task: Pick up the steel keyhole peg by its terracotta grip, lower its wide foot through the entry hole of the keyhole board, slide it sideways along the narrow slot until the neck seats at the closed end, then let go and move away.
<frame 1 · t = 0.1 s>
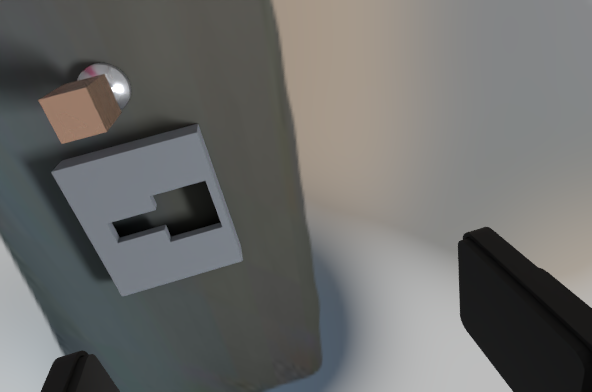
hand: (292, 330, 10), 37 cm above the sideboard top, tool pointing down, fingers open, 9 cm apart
keyhole board: (159, 207, 47), on the sideboard top
keyhole peg: (106, 87, 41), on the sideboard top
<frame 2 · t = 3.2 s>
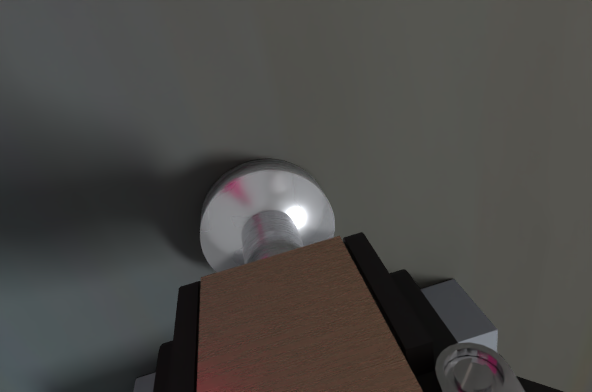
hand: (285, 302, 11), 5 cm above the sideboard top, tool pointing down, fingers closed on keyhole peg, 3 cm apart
keyhole peg: (265, 218, 15), on the sideboard top, touching gripper
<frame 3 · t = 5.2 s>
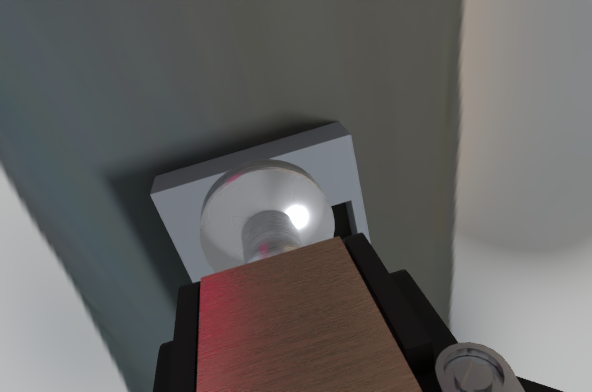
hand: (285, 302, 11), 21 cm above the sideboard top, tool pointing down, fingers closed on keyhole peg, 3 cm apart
keyhole board: (275, 234, 36), on the sideboard top
keyhole peg: (265, 218, 15), point 17 cm above the sideboard top, touching gripper
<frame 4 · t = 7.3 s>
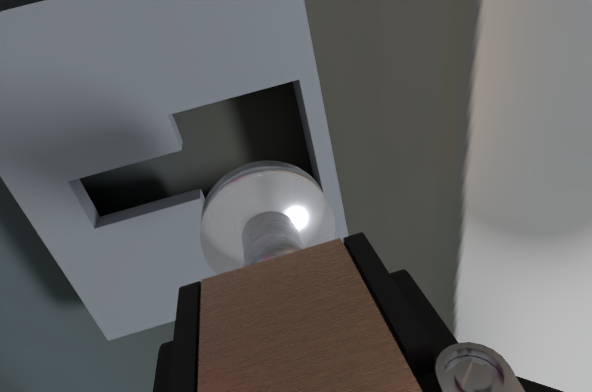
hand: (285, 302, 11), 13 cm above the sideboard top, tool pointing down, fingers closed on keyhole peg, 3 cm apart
keyhole board: (186, 153, 22), on the sideboard top
keyhole peg: (265, 219, 15), point 9 cm above the sideboard top, touching gripper
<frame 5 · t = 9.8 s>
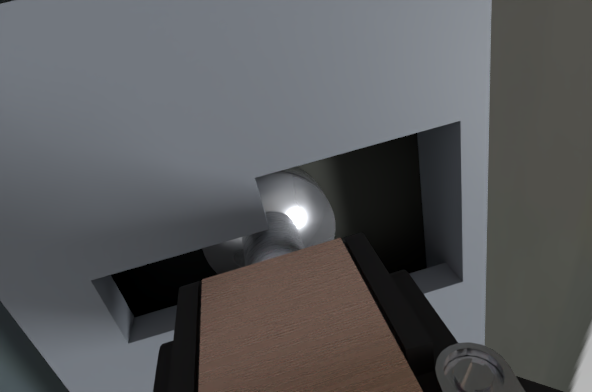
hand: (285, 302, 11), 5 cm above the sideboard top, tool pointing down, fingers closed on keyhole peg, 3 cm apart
keyhole board: (257, 218, 15), on the sideboard top
keyhole peg: (266, 219, 15), resting in keyhole board, touching gripper
when the fingers open (5 cm above the sideboard top, at t = 11.6 s): keyhole peg stays where it is, resting in keyhole board.
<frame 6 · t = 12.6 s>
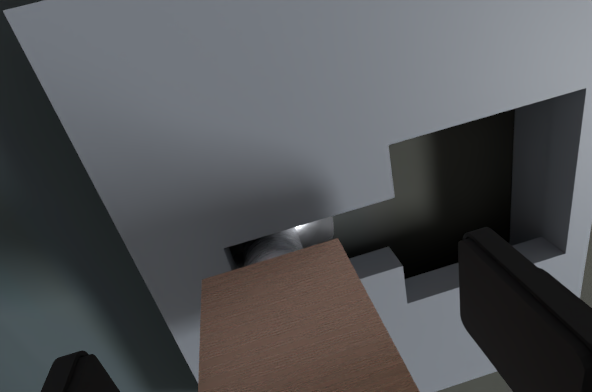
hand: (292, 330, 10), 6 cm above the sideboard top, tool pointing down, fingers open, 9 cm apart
keyhole board: (355, 193, 16), on the sideboard top
keyhole peg: (265, 221, 15), resting in keyhole board
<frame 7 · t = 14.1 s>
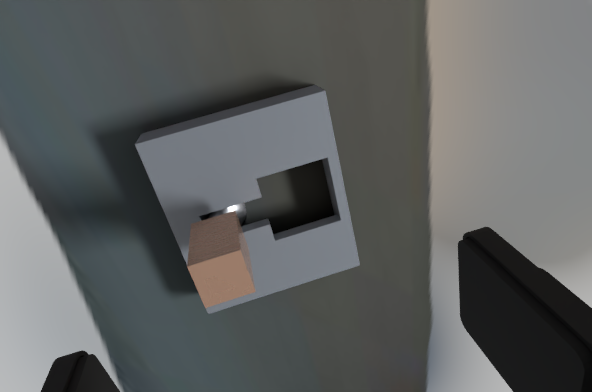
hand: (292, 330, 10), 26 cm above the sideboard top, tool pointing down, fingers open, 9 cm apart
keyhole board: (257, 197, 37), on the sideboard top
keyhole peg: (219, 209, 37), resting in keyhole board
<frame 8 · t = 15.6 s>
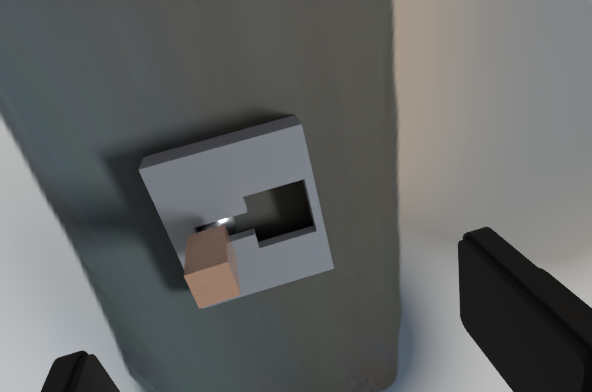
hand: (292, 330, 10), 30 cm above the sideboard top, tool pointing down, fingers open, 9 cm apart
keyhole board: (244, 209, 42), on the sideboard top
keyhole peg: (211, 219, 42), resting in keyhole board
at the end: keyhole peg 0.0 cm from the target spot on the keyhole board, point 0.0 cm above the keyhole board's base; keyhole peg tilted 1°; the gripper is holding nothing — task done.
